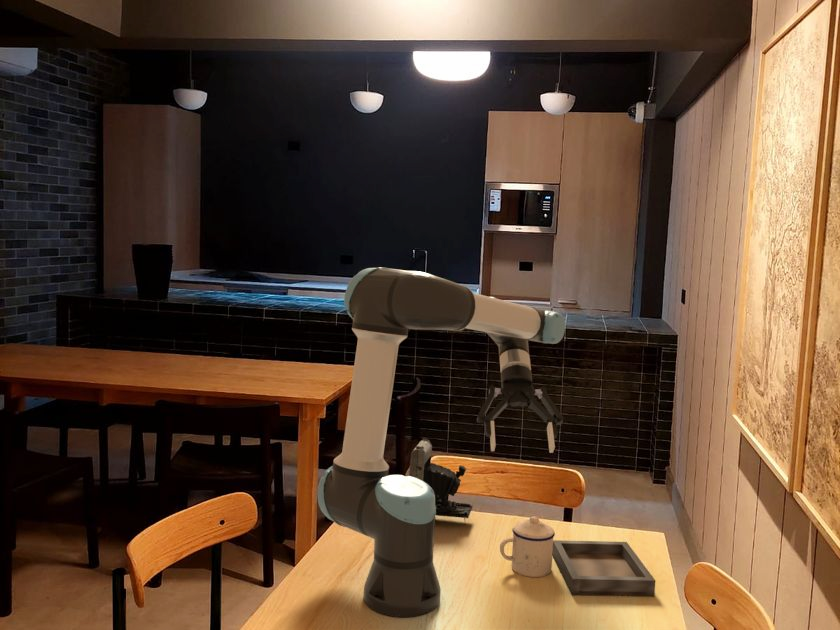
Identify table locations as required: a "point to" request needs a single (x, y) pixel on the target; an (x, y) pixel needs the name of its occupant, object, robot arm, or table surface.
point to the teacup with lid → (531, 548)
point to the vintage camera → (438, 481)
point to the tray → (602, 569)
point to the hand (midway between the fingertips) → (522, 449)
